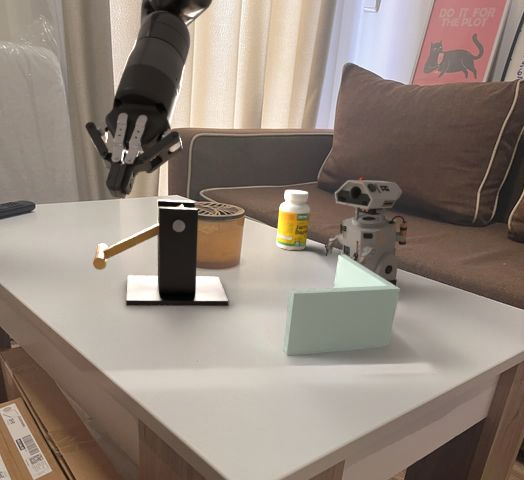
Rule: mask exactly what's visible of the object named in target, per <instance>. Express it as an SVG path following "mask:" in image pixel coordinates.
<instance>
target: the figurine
mask: <svg viewBox="0 0 524 480" xmlns="http://www.w3.org/2000/svg"><path fill="white" fill-rule="evenodd" d="M402 194H403V191H402V189H401V188H400V186H399V185H398V184H397V183H396V182H394V181H386V180H371V179H370V180H369V179H368V180H367V179H366V180H365V177H360V178H359V179H347V180H346V181H345V182H344V183H343V184H342V185H341V186H340V187H338V189H337V190H336V191H335V192H334V199H335V204H339V205H344V206H349V207H353V210H354V211H355V212H354V216H353V217H350V218H346V219H344V220H343V221H340V223H339V233H338V234H337V235H336V236H335V237H331V238H329V239H328V243H324V248H325V257H327V256H328V253H330V254H332V252H333V249H334V248H336V246H337V244H341V245H342V248H341V253H340V255H346V256H348V257H349V258H351V259H353V260H354V261H356V262H357V263H359V264H361V265H362V266H364V267H366V268H367V269H369V270H371V271H372V272H374V273H375V274H377V275H379V276H380V277H382V278H384V279H385V280H387V281H388V282H390V283H392V284H393V285H395V286H397V282H398V280H397V274H398V273H397V272H398V259H397V256H396V250H397V249H396V243H398V245H400V246H405V245H406V244H407V232H408V221H406V220H405V218H404V217H403V216H402V215H396V216H394V217H393V218H391V217H388V216H385V214H386V212H387V210H386V209H392V208H393V206H394V205H395V203H396V201H397V200H399V198H400V197H401V196H402ZM397 218H401V220H402V221H400V224H399V225H400V226H399V231H397V225H398V224H397V223H398V220H397Z"/></svg>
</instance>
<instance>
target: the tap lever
mask: <svg viewBox="0 0 524 480" xmlns="http://www.w3.org/2000/svg"><path fill="white" fill-rule="evenodd" d="M177 207H181V208H184V206H183V204H181V205H179V206H177ZM158 235H159V223H158V222H157V223H155V224H153V225H152V226H150V227H147V228H144V229H142V230H141V231H139V232H137V233H134V234H132V235H130V236H128V237H126V238H124V239H122V240H120V241H118V242H116V243H114V244H110V245H109V246H108V245H107V244H106V243H99V244H97V245H96V248H95V252H94V257H93V260H92V265H93V267H94V269H96V270H99V271H100V270H104V269H105V268H106V266H107V262H108V259H110V258H113V257H114V256H116V255H119V254H121V253H123V252H125V251H127V250H129V249H131V248H134V247H135V246H138V245H140V244H142V243H144V242H146V241H149V240H150V239H152V238H155V237H157V236H158Z"/></svg>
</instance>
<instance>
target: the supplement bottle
mask: <svg viewBox="0 0 524 480" xmlns="http://www.w3.org/2000/svg"><path fill="white" fill-rule="evenodd" d="M284 200H285V201H284V202H282V203H280V206H279V210H278V222H277V233H276V246H277V247H279V248H280V249H283V250H288V251H302V250H304V249H305V248H306V247H307V240H308V232H309V224H310V215H311V207H310V206H309V205H308V204H307V202H308V200H309V192H308V191H305V190H300V189H286V190H285V191H284Z"/></svg>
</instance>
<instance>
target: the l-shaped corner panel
mask: <svg viewBox="0 0 524 480" xmlns="http://www.w3.org/2000/svg"><path fill="white" fill-rule="evenodd" d="M400 292H401V288H400V287H398V286H397V285H396V286H395V285H393V284H392V283H390V282H388V281H387V280H385V279H384V278H382V277H380V276H379V275H377V274H375V273H374V272H372V271H371V270H369V269H367V268H366V267H364V266H362V265H361V264H359V263H357V262H356V261H354V260H353V259H351V258H349V257H348V256H346V255H341V254H338V257H337V263H336V268H335V275H334V281H333V287H326V288H325V287H322V288H302V289H301V288H299V289H290V290H289V294H288V304H287V311H286V319H285V327H284V337H283V345H282V352H283V353H284V355H286V356H297V355H298V356H299V355H308V354H318V353H319V354H320V353H329V352H341V351H350V350H351V351H352V350H361V349H372V348H385V347H389V342H390V337H391V334H392V330H393V324H394V320H395V315H396V310H397V305H398V301H399V296H400Z"/></svg>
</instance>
